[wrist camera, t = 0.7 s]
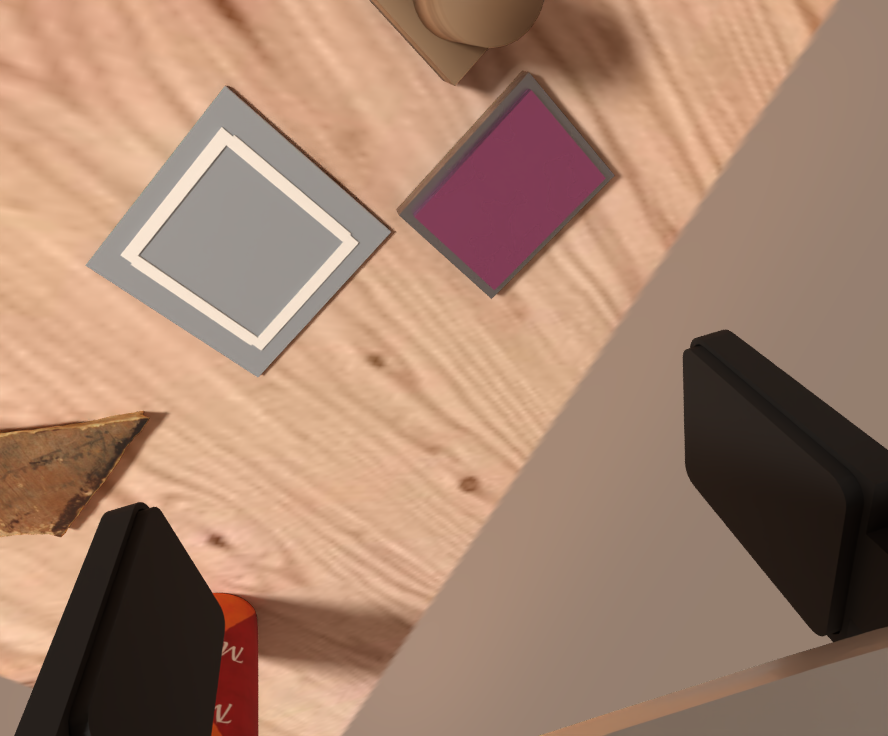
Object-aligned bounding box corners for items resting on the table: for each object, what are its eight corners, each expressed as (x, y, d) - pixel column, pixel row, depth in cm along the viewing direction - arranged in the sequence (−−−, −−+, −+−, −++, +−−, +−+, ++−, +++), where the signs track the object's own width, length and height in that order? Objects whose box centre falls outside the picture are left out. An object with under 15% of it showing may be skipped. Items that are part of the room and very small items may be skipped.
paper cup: (234, 564, 42) (207, 786, 30) (293, 629, 46) (290, 847, 34) (129, 613, 42) (60, 852, 30) (196, 673, 46) (160, 905, 34)
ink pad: (522, 70, 30) (532, 73, 29) (606, 171, 34) (618, 177, 32) (396, 209, 32) (400, 217, 31) (487, 291, 36) (494, 302, 34)
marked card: (225, 85, 28) (224, 86, 28) (390, 230, 33) (391, 232, 33) (87, 263, 31) (84, 266, 30) (258, 374, 35) (257, 378, 35)
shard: (154, 403, 36) (148, 421, 34) (183, 506, 39) (178, 526, 38) (-61, 426, 34) (-78, 446, 32) (-9, 532, 38) (-22, 554, 36)
